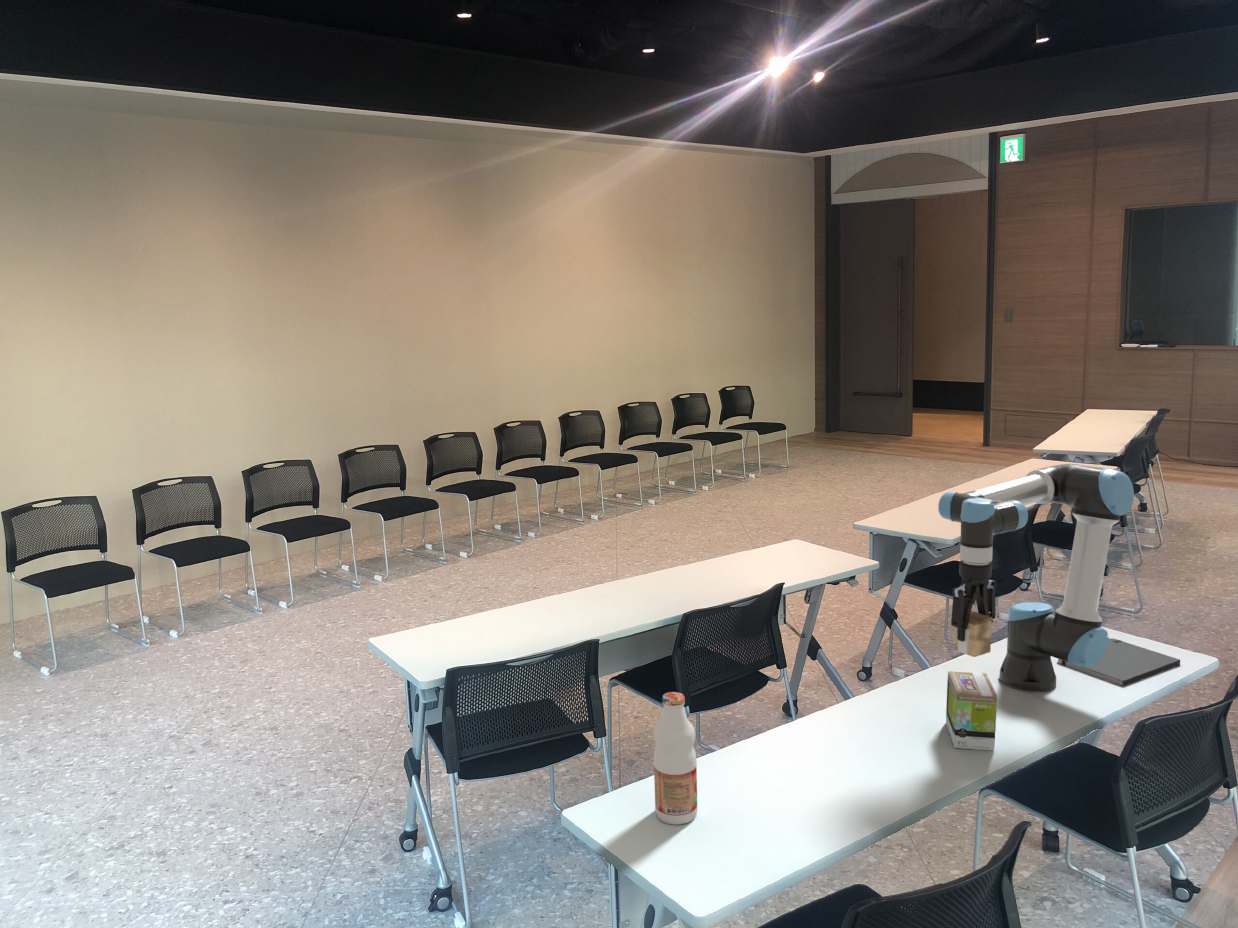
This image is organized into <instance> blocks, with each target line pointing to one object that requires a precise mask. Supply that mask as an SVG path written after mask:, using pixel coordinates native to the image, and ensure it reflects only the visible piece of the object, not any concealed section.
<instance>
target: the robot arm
mask: <svg viewBox="0 0 1238 928" xmlns="http://www.w3.org/2000/svg"><path fill="white" fill-rule="evenodd" d="M1134 497H1135V491H1134V486H1133V483H1132V481H1131V478H1130V477H1129V476H1128V475H1127V474H1126V473H1125V472H1123V471H1121V470H1115V469H1112V468H1103V467H1097V466H1089V465H1081V464H1075V463H1065V464H1057V465H1050V466H1048V467H1047V466H1046V467H1043V468H1038V469H1034V470H1031V471H1030V472H1028V473H1027V474H1026V475H1025V476H1022V477H1020V478H1016V479H1012V480H1009V481H1005V482H1002V483H1001V482H1000V483H997V484H993V485H990V486H986V487H983V488H978V489H976V490H972V491H967V492H964V493H963V492H962V493H961V492H960V493H959V492H956V491H955V492H953V491H947V492H945V493H943V494H942V495H941V497H940V498H939V501H938V508H937V509H938V510H937V511H938V513H939V515H940V517H941V518H943V519H946V520H949V521H950V522H956V523H960V540H959V544H960V547H959V549H960V550H959V559H960V561H959V562H958V563H959V565H958V567H959V568H958V574H959V576H960V577H961V582H960V586H958V587H952V590H951V592H952V598H953V599H952V608H951V618H950V619H951V621H950V624H951V625H950V626H952V627H954V628H955V627H957V639H958V651H957V652H959V653H962V654H964V655H967V654H969V629H968V628H967V626H968V622H969V618H970V614H971V611H973V610H972V608H973V605H974V604H976V609H977V613H980V614H983V615H986V616H989V617H992V624H993V623H994V619H995V618H996V589H997V584H998V582H997V581H996V580H991V579H990V578H991V577H992V574H993V573H992V569H993V568H992V567H993V566H992V565H993V564H992V561H993V540H994V536H996V535H999V534H1004V533H1010V532H1015V531H1017V530H1019V529H1022V528H1023V527H1025V525H1026V524H1027V522H1028V519H1029V513H1028V509H1027V508H1026V506H1028V505H1030V504H1034V503H1035V504H1039V505H1044V504H1048V503H1053V504H1054V503H1055V504H1060V505H1061V504H1062V505H1066V506H1070V507H1072V512H1071V514H1072V516H1073V517H1074V519H1076V523H1075V524H1076V526H1075V532H1074V537H1073V543H1072V548H1071V555H1070V560H1069V567H1068V571H1067V579H1066V585H1065V590H1064V596H1063V601H1062V604H1061V606H1060V607H1058V608H1056V609H1055V610H1054V607H1053V606H1052V605H1051V604H1049V603H1045V602H1035V601H1034V602H1033V601H1032V602H1031V601H1029V602H1021V603H1017V604H1013V605H1012V606H1011V607H1010V608H1009V610H1008V618H1007V639H1006V640H1007V641H1006V642H1007V643H1006V644H1007V645H1006V654H1005V657H1004V659H1003V661H1002V663H1001V666H1000V668H999V677H998V678H999V681H1001V682H1002V684H1004V685H1006V686H1007V687H1008V686H1009V687H1011V688H1013V689H1017V690H1021V691H1027V692H1045V691H1051V690H1052V689H1055V687H1056V686H1057V674H1056V673H1055V668H1054V665H1053V662H1052V658H1056V659H1057V660H1058V659H1061V660H1064V661H1066V662H1069V663H1071V664H1073V665H1074V664H1075V665H1079V666H1082V667H1090V666H1093V665H1094V664H1096V663H1097V662H1098V661H1099V660H1100V659H1101V658H1102V657H1103V655H1104V654H1105V652H1106V649H1107V647H1108V643H1109V639H1110V638H1109V637H1110V636H1109V633H1108V631H1107V630H1106V629H1105V628H1104V627H1102V625H1103V618H1102V617H1101V615H1099V613H1098V610H1099V604H1100V599H1101V598H1100V597H1101V593H1102V586H1103V581H1104V574H1105V569H1106V563H1107V559H1108V554H1109V553H1108V552H1109V546H1110V540H1111V535H1112V529H1113V526H1114V525H1115V524H1118V523H1119V522H1120V521H1121V516H1125V515H1127V514H1128V513H1129V512H1130V511H1131V509H1132V506H1133V503H1134V499H1135V498H1134ZM1054 612H1055V613H1054ZM962 623H963V624H962ZM967 656H968V655H967ZM1051 657H1052V658H1051Z"/></svg>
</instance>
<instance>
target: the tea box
mask: <svg viewBox="0 0 1238 928" xmlns="http://www.w3.org/2000/svg"><path fill="white" fill-rule="evenodd" d="M946 682H947V684H946V685H947V687H946V688H947V689H946V706H945V707H946V709H945V723H946V726H947V730H948V732H949V735H950V739H951V742H952V746H953V747H954V748H955V749H964V750H979V751H995V746H996V731H997V730H996V729H997V727H996V726H997V712H998V711H997V709H998V708H997V707H998V694H997V693H996V691H995V688H994V687H993V684H992V682H991V680H990V678H989V676H988V675H987V672H985V673H984V672H969V671H966V672H965V671H951V670H950V671H947V681H946Z"/></svg>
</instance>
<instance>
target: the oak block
mask: <svg viewBox="0 0 1238 928" xmlns="http://www.w3.org/2000/svg"><path fill="white" fill-rule="evenodd" d="M992 620H993V619H992V617H989V616H986V615H983V614H980V613H978V611H973V610H971V614H970V618H969V622H968V626H967V628H968V629H969V654H967V656H970V657H972V658H975V657H979V656H982V655H985V654H989V653H991V651H992V649H991V648H992V647H991V645H992V643H991V642H992V624H993V623H992ZM962 624H963V623H962ZM954 651H957V652H959V651H958V639H957V627H954Z"/></svg>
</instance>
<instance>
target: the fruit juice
mask: <svg viewBox="0 0 1238 928" xmlns="http://www.w3.org/2000/svg"><path fill="white" fill-rule="evenodd" d="M661 701H662V702H661V703H662V705H663V708H662V709H663V710H662V713H661V715H660V719H659V720H658V722H657V724H656V725H655V727H654V729H653V739H654V742H655V749H654V753H653V773H654V774H653V775H654V777H653V779H654V806H655V807H654V809H655V815H656V817H657V818H658V820H659V821H661V822H663V823H666V824H668V825H677V826H678V825H680V826H681V825H684V824H688V823H690V822H692V821H693V820H695V819H696V817H697V813H698V779H697V778H698V776H697V773H698V772H697V768H698V767H697V762H698V761H697V753H696V749H695V748H694V744H695V740H696V732H695V728H694V725H693V724H692V722H691V721H689V719H688V717H687V715H686V711H685V707H684V705H685V703H686V699H685V695H684V694H683V693H681V692H678V691H677V692H676V691H670V692H666V693H664V694H662V698H661Z"/></svg>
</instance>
